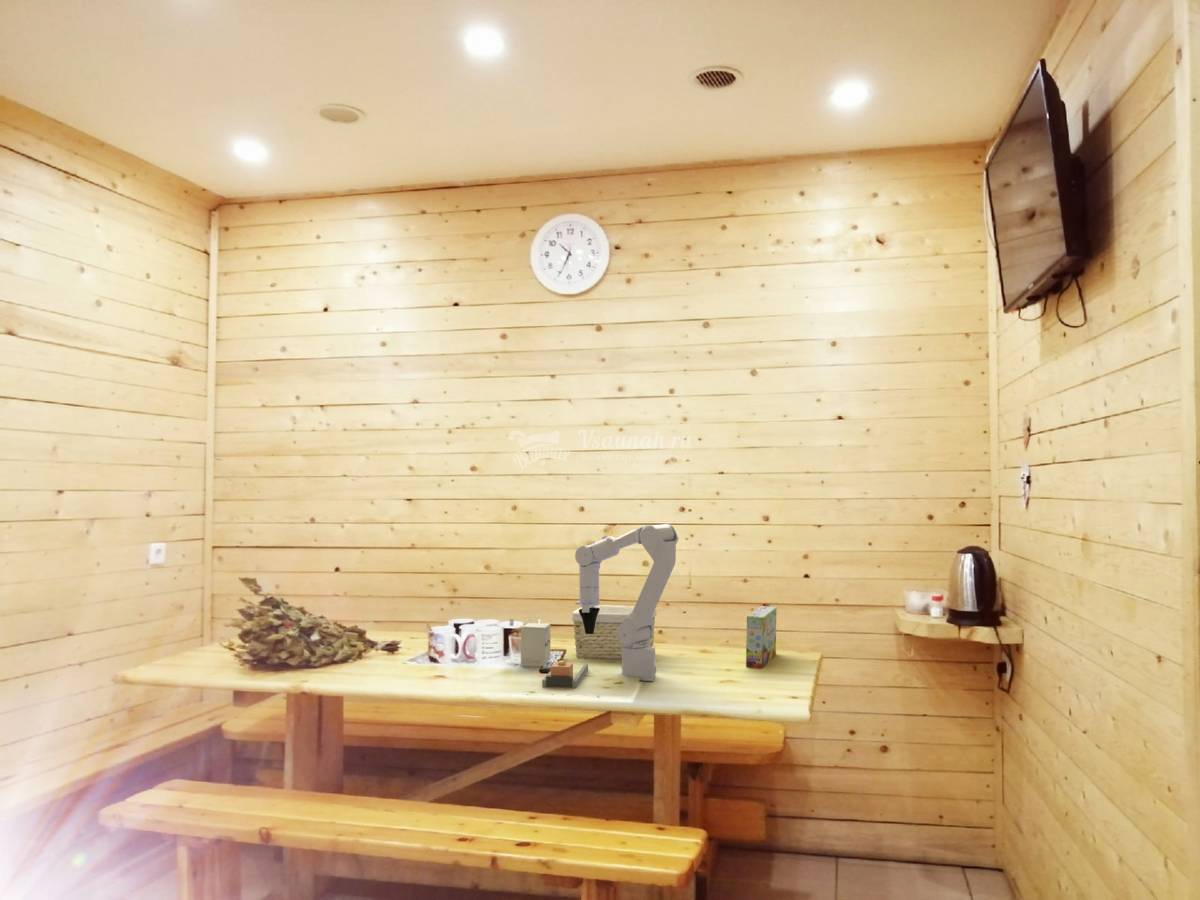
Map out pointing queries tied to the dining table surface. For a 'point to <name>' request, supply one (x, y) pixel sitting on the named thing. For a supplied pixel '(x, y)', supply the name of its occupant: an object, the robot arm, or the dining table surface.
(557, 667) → the block
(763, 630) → the snack box
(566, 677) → the grey tray
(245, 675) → the dining table surface
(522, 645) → the supplement box
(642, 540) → the robot arm
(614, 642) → the storage basket
